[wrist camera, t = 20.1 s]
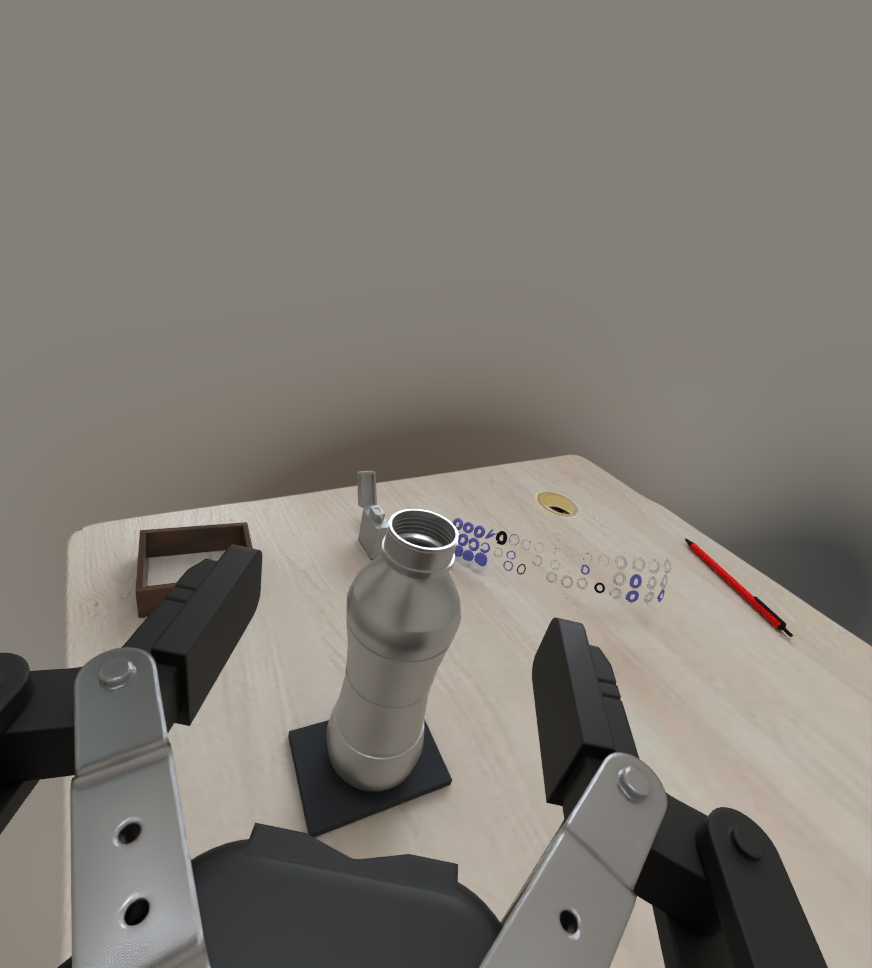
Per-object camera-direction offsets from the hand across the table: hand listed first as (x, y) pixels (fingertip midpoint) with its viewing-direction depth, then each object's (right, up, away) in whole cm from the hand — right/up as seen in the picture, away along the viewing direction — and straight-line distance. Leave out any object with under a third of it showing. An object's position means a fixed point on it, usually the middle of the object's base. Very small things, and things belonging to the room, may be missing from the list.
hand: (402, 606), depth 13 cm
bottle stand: (-22, -6, +33) cm, 40 cm away
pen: (+41, -10, +52) cm, 67 cm away
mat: (-4, -17, +21) cm, 27 cm away
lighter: (-7, -4, +44) cm, 45 cm away
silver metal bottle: (-4, -16, +21) cm, 27 cm away
